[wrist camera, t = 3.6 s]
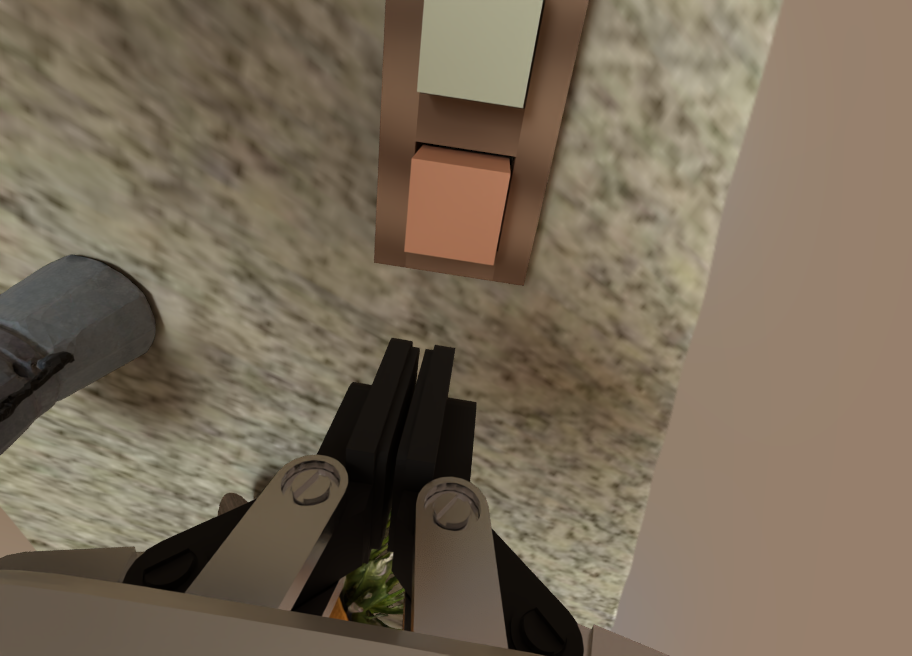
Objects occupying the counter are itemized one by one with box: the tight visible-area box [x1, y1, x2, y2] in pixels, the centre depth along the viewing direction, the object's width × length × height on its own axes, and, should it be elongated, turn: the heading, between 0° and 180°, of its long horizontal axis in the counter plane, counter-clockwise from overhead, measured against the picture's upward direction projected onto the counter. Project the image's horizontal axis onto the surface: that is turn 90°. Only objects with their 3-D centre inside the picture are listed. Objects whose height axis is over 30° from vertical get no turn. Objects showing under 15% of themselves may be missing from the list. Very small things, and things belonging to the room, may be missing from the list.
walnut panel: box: [374, 0, 589, 286], centre depth 24 cm, size 26×10×2 cm, turn 172°
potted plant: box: [218, 493, 405, 630], centre depth 42 cm, size 25×18×25 cm
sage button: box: [417, 0, 543, 108], centre depth 22 cm, size 5×5×4 cm
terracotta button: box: [404, 145, 511, 265], centre depth 26 cm, size 5×5×4 cm
